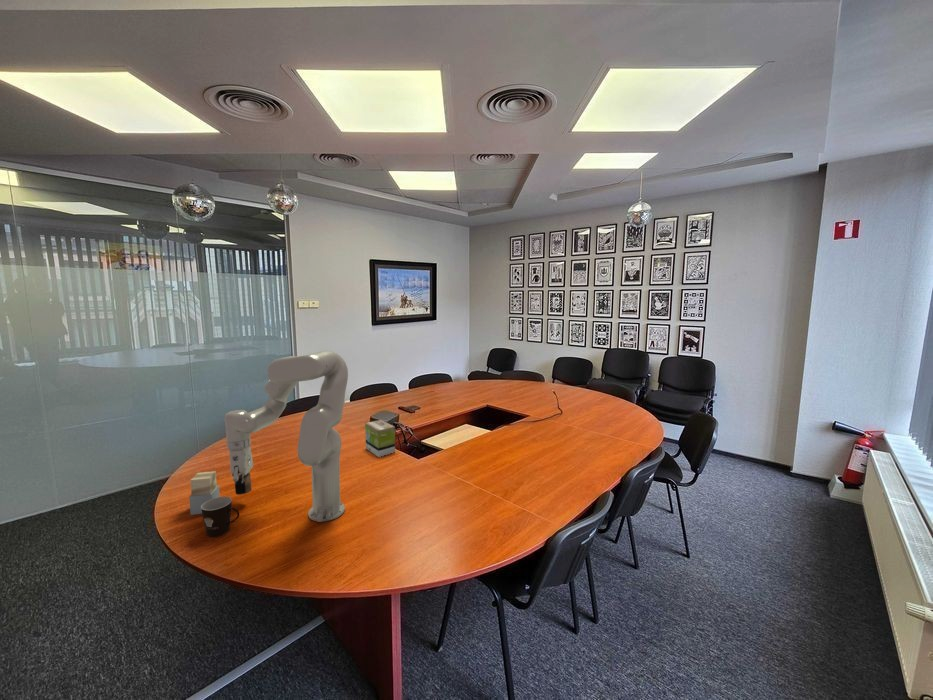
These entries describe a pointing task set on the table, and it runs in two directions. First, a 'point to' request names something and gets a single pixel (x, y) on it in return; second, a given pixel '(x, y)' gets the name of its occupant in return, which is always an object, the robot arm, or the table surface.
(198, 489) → the birch block
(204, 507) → the coffee mug
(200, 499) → the white box
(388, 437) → the tea box
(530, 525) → the table surface
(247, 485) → the walnut cylinder
